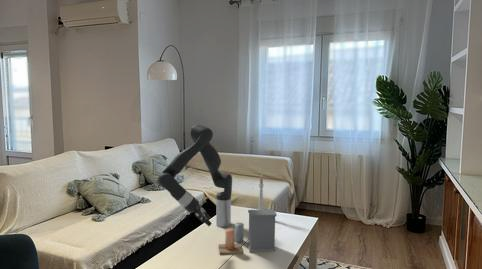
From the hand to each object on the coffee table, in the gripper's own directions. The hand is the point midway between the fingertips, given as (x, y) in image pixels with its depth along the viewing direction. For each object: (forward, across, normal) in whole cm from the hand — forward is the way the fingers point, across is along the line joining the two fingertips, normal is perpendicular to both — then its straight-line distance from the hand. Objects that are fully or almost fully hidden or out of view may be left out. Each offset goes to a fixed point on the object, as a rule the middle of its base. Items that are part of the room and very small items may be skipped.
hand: (210, 221), depth 180 cm
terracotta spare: (+18, 0, +3) cm, 19 cm away
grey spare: (+23, +10, 0) cm, 25 cm away
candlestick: (+37, +45, -14) cm, 60 cm away
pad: (+19, 0, +4) cm, 19 cm away
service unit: (+31, 0, -8) cm, 32 cm away
